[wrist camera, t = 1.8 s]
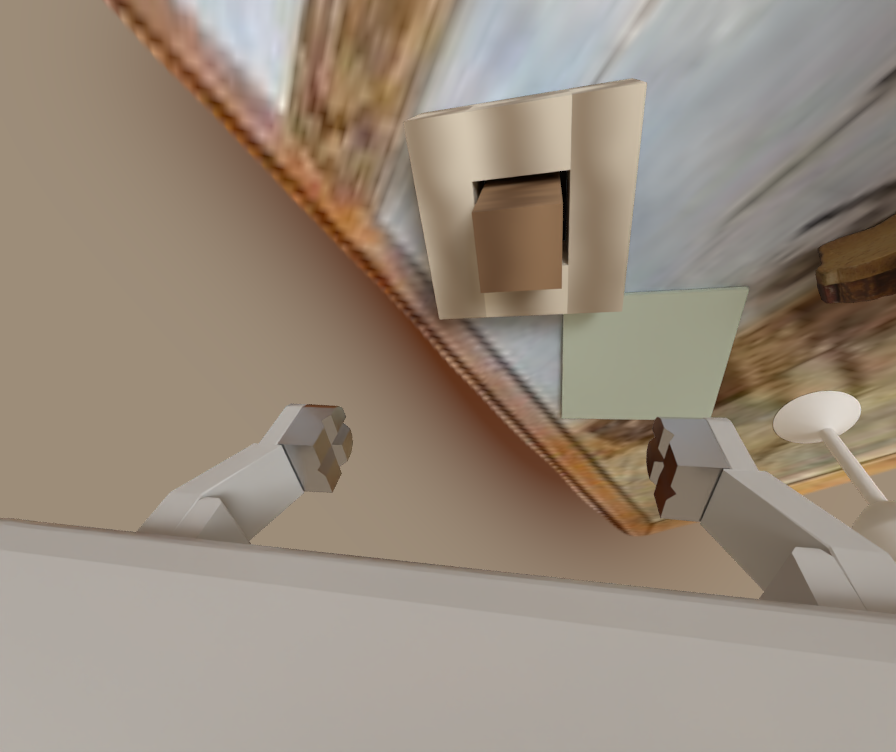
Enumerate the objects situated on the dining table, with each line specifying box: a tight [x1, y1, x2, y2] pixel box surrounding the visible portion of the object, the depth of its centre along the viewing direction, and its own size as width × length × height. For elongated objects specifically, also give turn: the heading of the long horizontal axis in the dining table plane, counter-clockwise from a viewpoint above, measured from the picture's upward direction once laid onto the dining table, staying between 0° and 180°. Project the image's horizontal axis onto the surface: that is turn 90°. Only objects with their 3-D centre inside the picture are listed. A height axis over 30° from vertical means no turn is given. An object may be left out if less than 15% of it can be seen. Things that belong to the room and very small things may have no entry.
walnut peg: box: [472, 171, 563, 293], centre depth 28 cm, size 5×5×10 cm
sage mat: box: [562, 287, 749, 420], centre depth 38 cm, size 14×14×1 cm
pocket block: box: [403, 78, 647, 319], centre depth 30 cm, size 14×14×5 cm
